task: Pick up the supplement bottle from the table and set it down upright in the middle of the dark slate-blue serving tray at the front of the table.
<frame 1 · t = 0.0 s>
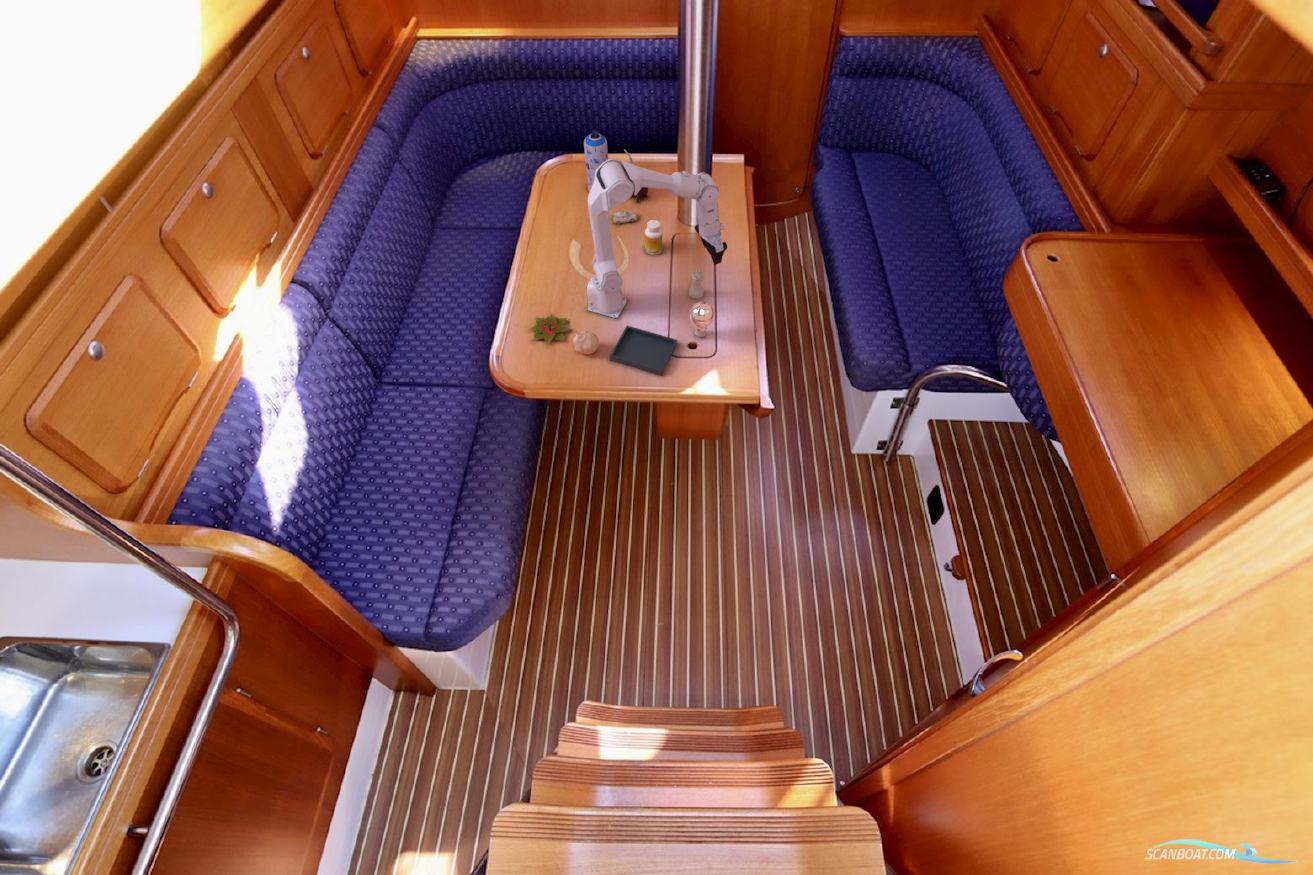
hand: (712, 254, 187), 11 cm above the table, tool pointing down, fingers open, 7 cm apart
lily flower: (550, 331, 185), on the table
light bulb: (699, 336, 184), on the table
aerosol can: (599, 187, 222), on the table
toy car: (624, 220, 212), on the table
tray: (644, 352, 180), on the table
rook chess piece: (696, 294, 193), on the table
garlic bulb: (587, 351, 181), on the table
mate gourd: (636, 197, 219), on the table
supplement bottle: (653, 250, 204), on the table
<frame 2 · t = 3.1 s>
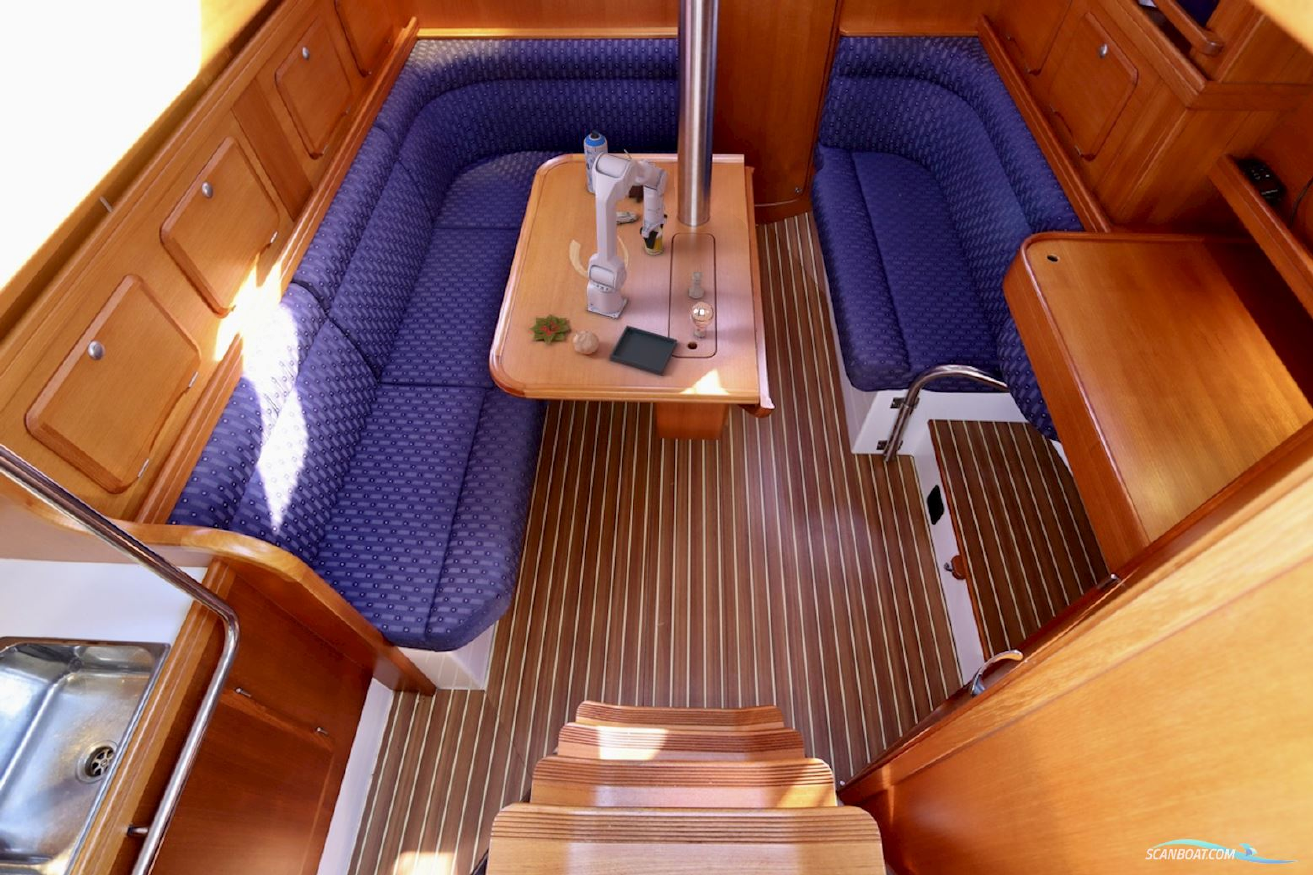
hand: (653, 242, 202), 3 cm above the table, tool pointing down, fingers closed on supplement bottle, 5 cm apart
supplement bottle: (653, 250, 204), on the table, touching gripper
everything else where it was.
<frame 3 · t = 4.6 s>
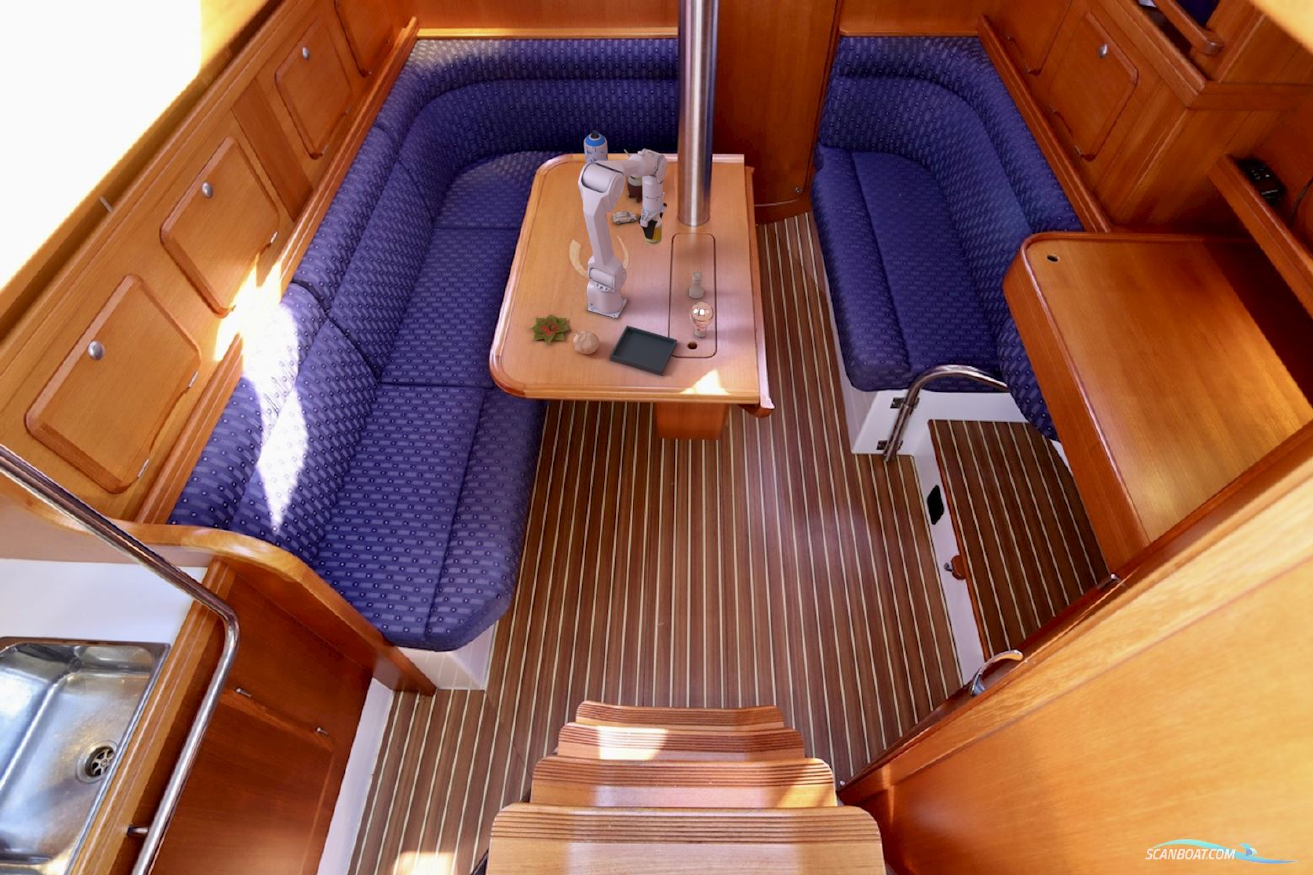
hand: (652, 232, 194), 10 cm above the table, tool pointing down, fingers closed on supplement bottle, 5 cm apart
supplement bottle: (652, 240, 196), point 7 cm above the table, touching gripper
everything else where it was.
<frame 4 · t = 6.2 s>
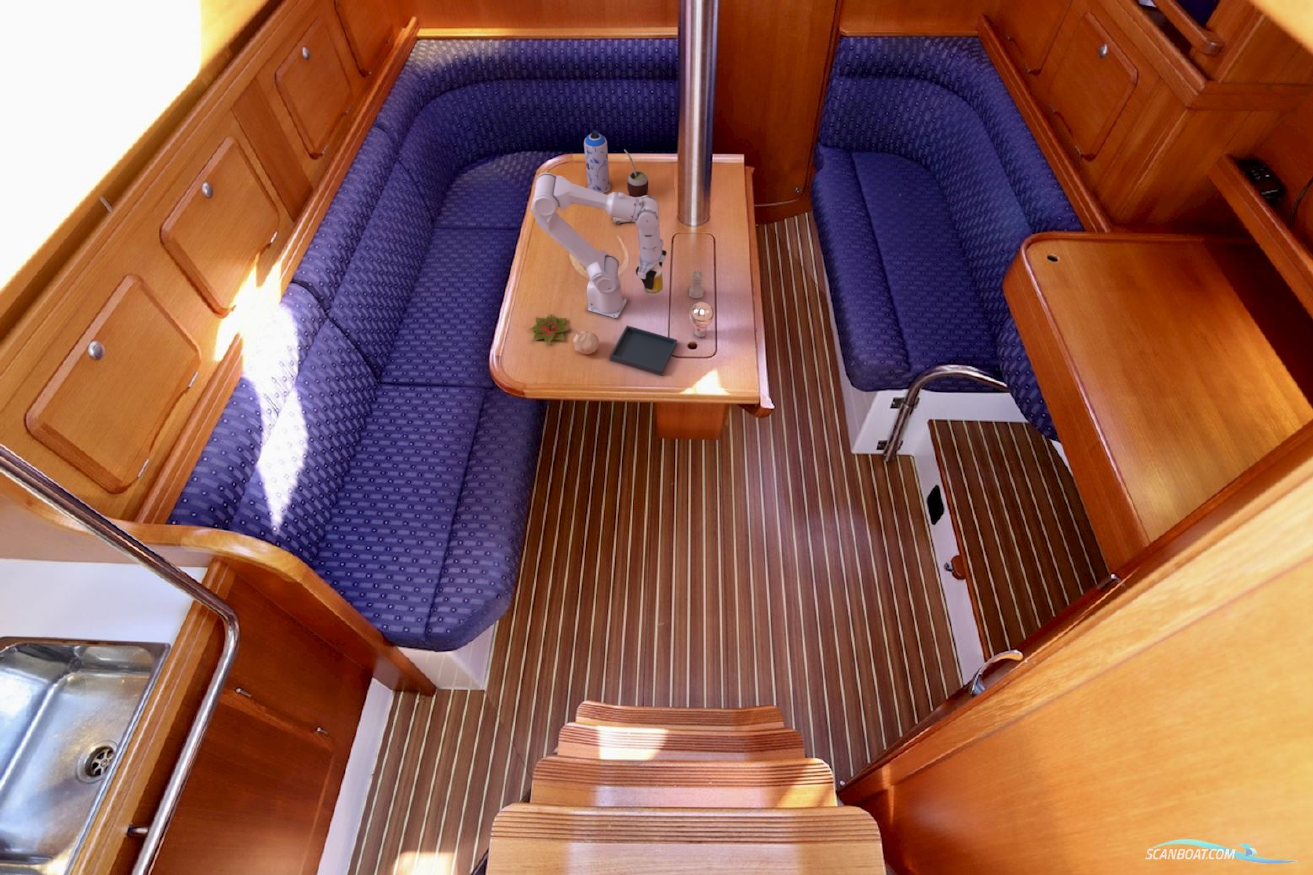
hand: (652, 281, 182), 10 cm above the table, tool pointing down, fingers closed on supplement bottle, 5 cm apart
supplement bottle: (653, 289, 184), point 7 cm above the table, touching gripper
everything else where it was.
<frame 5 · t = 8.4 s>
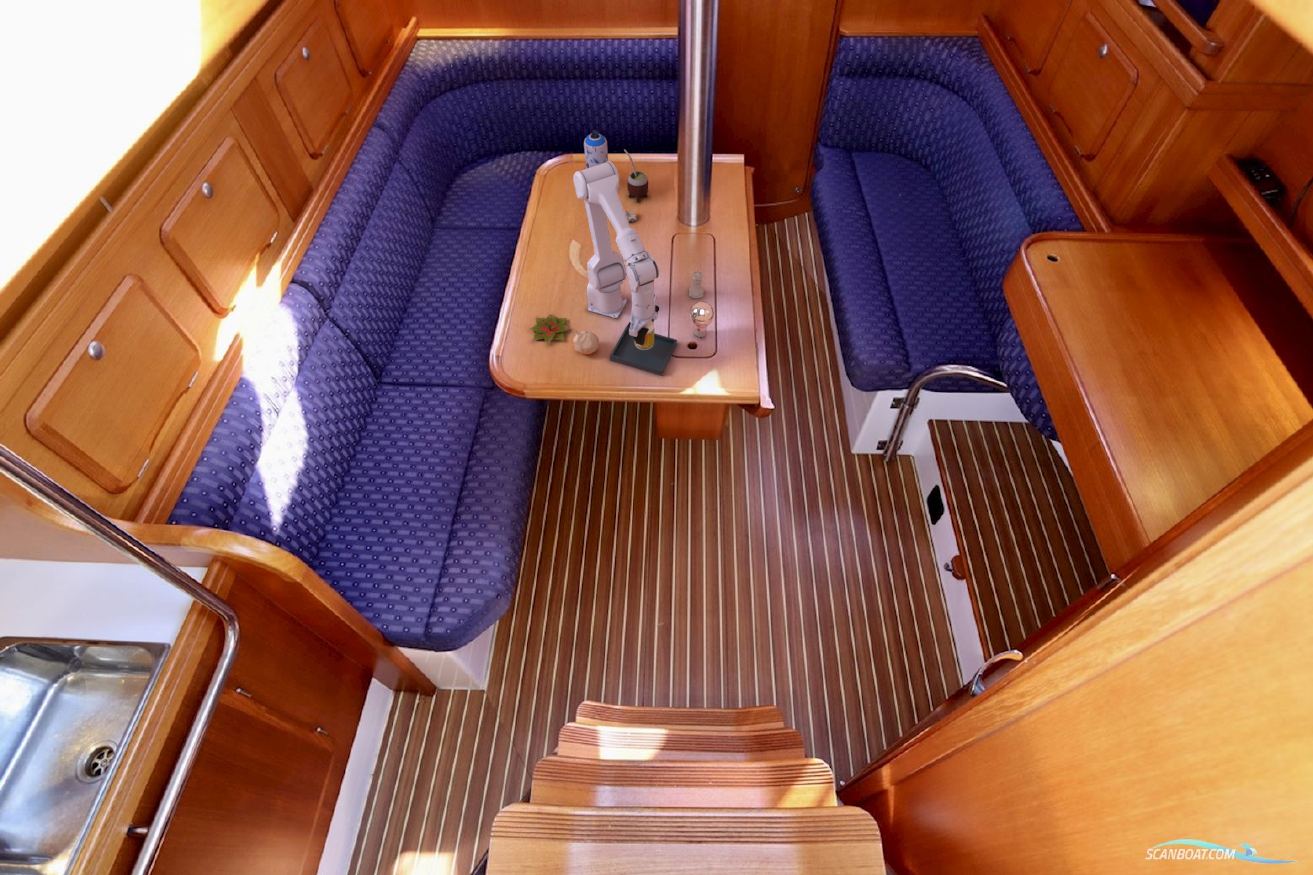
hand: (643, 336, 175), 7 cm above the table, tool pointing down, fingers closed on supplement bottle, 5 cm apart
supplement bottle: (644, 343, 177), point 4 cm above the table, touching gripper
everything else where it was.
when the fingers open (3 cm above the table, at t = 9.8 s): supplement bottle stays where it is, resting on tray.
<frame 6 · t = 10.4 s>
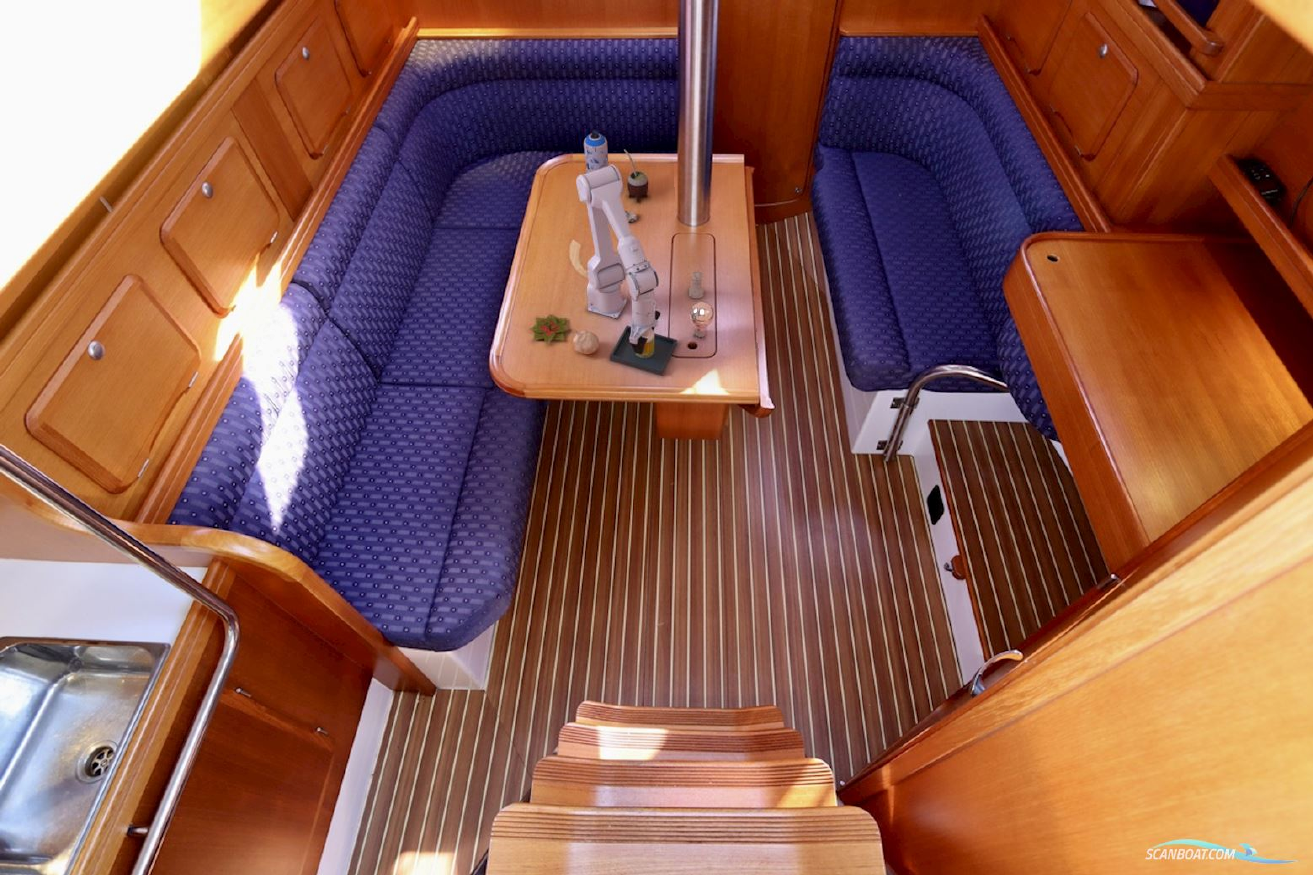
hand: (643, 343, 177), 4 cm above the table, tool pointing down, fingers open, 7 cm apart
supplement bottle: (644, 351, 180), resting on tray
everything else where it was.
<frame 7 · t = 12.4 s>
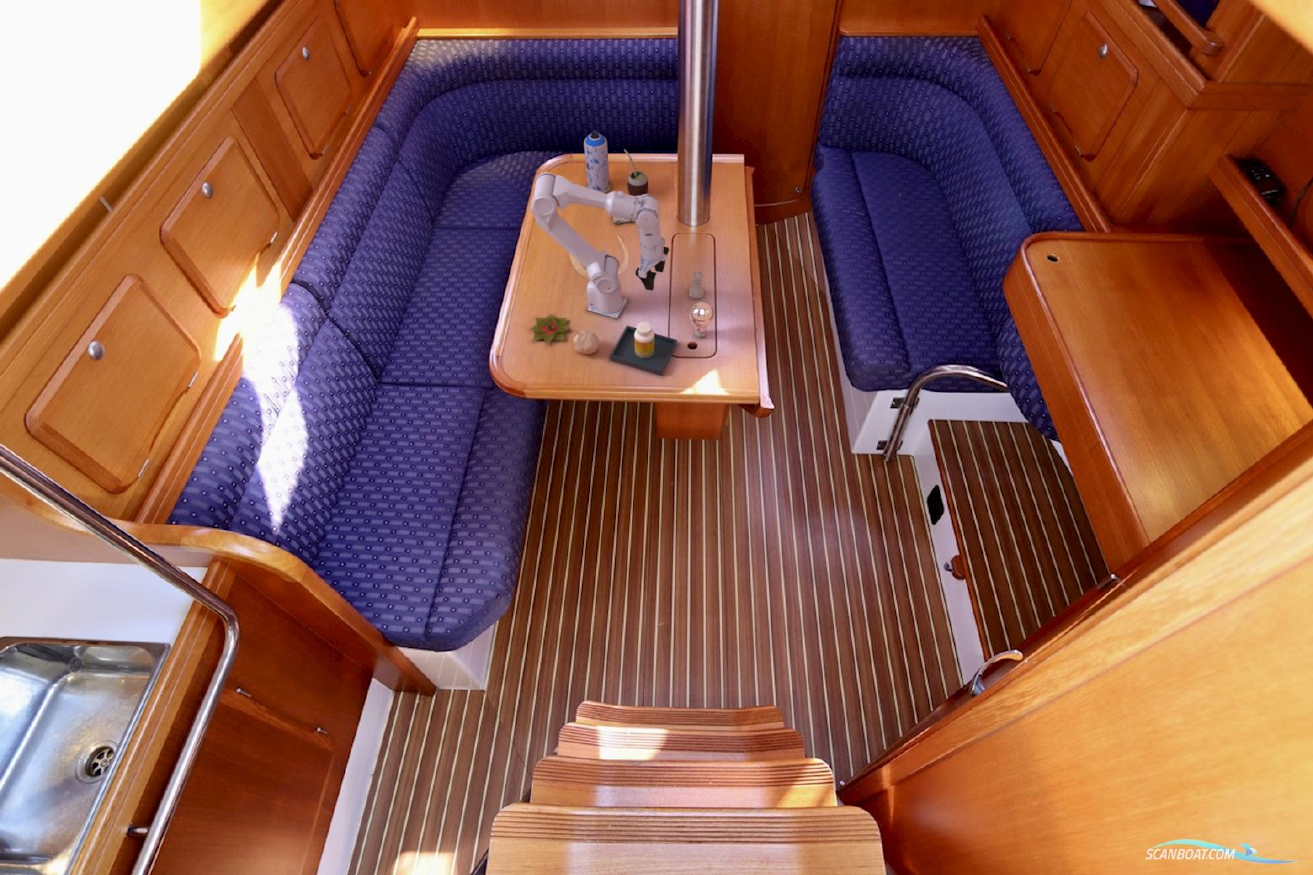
hand: (654, 280, 181), 10 cm above the table, tool pointing down, fingers open, 7 cm apart
nothing on the table moved.
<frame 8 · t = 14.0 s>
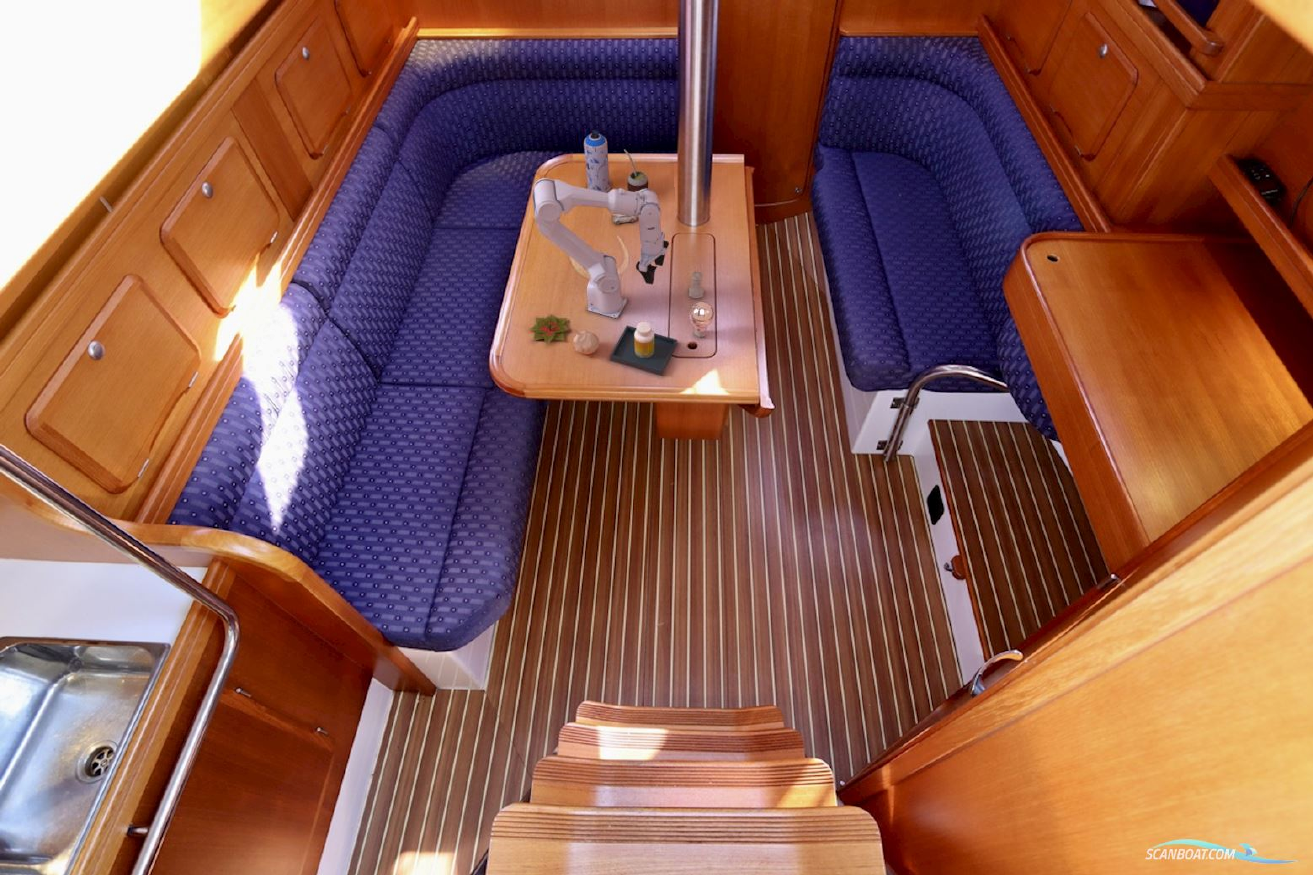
hand: (654, 273, 183), 10 cm above the table, tool pointing down, fingers open, 7 cm apart
nothing on the table moved.
at the end: supplement bottle 0.1 cm off-centre in the tray, point 0.3 cm above the tray's base; supplement bottle tilted 0°; the gripper is holding nothing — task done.
